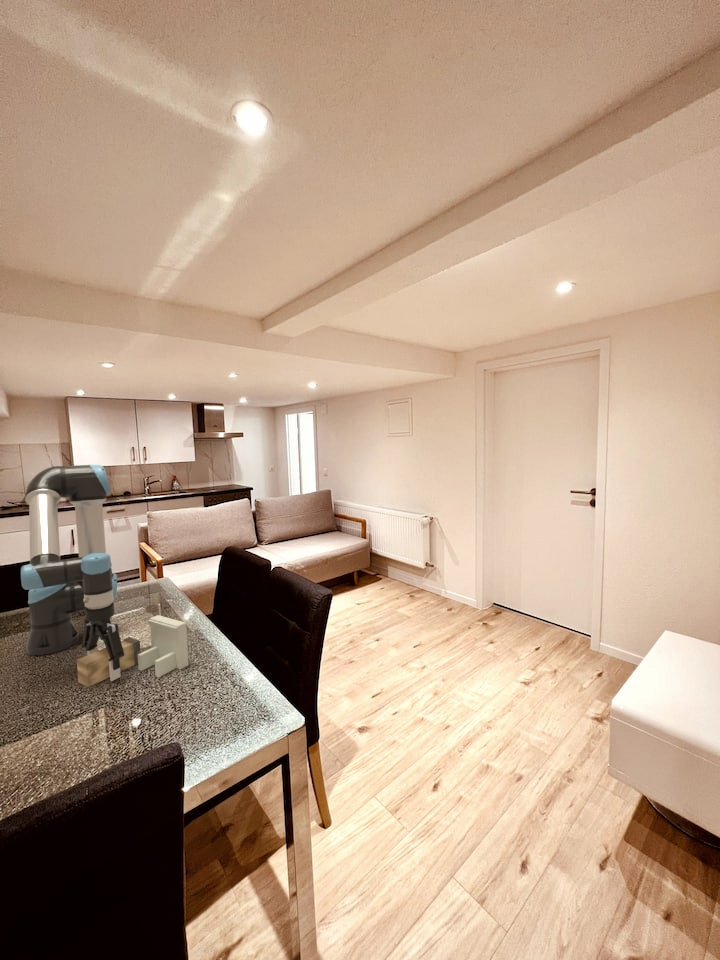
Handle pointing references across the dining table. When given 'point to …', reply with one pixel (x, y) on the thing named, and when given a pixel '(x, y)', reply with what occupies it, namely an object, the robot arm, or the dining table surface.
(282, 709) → the dining table surface
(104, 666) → the tan and grey block
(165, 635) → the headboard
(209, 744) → the dining table surface
